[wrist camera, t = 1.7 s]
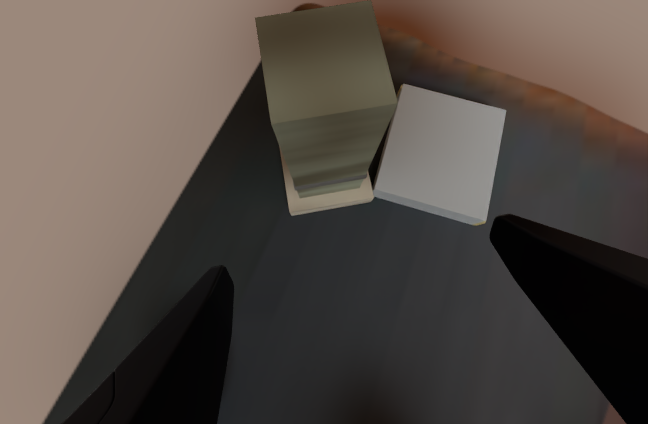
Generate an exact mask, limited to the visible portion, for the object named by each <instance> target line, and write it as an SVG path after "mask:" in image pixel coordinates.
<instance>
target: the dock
mask: <svg viewBox="0 0 648 424" xmlns="http://www.w3.org/2000/svg"><path fill="white" fill-rule="evenodd" d="M397 101H398V104H397V107H396V109H395V111H394V113H393V115H392V119H391V122H390V126H389V130H388V133H387V137H386V140H385V144H384V148H383V151H382V155H381V158H380V162H379V166H378V169H377V173H376V176H375V180H374V184H373V187H372V191H373V195H374V197H377V198H381V199H384V200H388V201H391V202H395V203H398V204H402V205H405V206H408V207H412V208H415V209H419V210H422V211H426V212H429V213H433V214H436V215H440V216H443V217H447V218H450V219H454V220H457V221H460V222H464V223H467V224H471V225H474V226H477V225H480V224H484V223H485V222H486V219H487V213H488V208H489V202H490V197H491V191H492V186H493V181H494V175H495V170H496V164H497V159H498V153H499V148H500V142H501V137H502V131H503V126H504V120H505V115H506V110H503V109H499V108H495V107H492V106H488V105H484V104H480V103H476V102H472V101H468V100H465V99H461V98H457V97H453V96H449V95H445V94H441V93H438V92H434V91H430V90H426V89H422V88H418V87H414V86H411V85H407V84H403V85H401V87H400V89H399V91H398V94H397Z"/></svg>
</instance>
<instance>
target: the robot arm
mask: <svg viewBox="0 0 648 424" xmlns="http://www.w3.org/2000/svg"><path fill="white" fill-rule="evenodd" d="M490 241H491V243H492V245H493V246H494V248H495V249H496V251H497V253H498V254H499V256H500V257H501V259H502V260H503V262H504V264H505V265H506V267H507V268H508V270H509V272H510V273H511V275H512V276H513V278H514V279H515V281H516V282H517V283H518V285H519V286H520V287H521V289H522V290H523V291H524V293H525V294H526V295H527V296H528V298H529V299H530V300H531V302H532V303H533V304H534V306H535V307H536V308H537V309H538V311H539V312H540V313H541V315H542V316H543V317H544V318H545V320H546V321H547V322H548V324H549V325H550V326H551V327H552V329H553V330H554V331H555V333H556V334H557V335H558V336H559V338H560V339H561V340H562V342H563V343H564V344H565V345H566V347H567V348H568V349H569V351H570V352H571V353H572V354H573V356H574V357H575V358H576V360H577V361H578V362H579V363H580V365H581V366H582V367H583V369H584V370H585V371H586V372H587V374H588V375H589V376H590V378H591V379H592V380H593V381H594V383H595V384H596V385H597V387H598V388H599V389H600V390H601V392H602V393H603V394H604V396H605V397H606V398H607V399H608V401H609V402H610V403H611V405H612V406H613V407H614V408H615V410H616V411H617V412H618V413H619V415H620V416H621V417H622V419H623V420H624V421H625V423H626V424H648V259H647V258H644V257H641V256H638V255H635V254H632V253H629V252H625V251H622V250H619V249H616V248H613V247H610V246H607V245H604V244H601V243H598V242H595V241H592V240H589V239H586V238H583V237H580V236H577V235H574V234H570V233H567V232H564V231H561V230H558V229H555V228H552V227H549V226H546V225H543V224H540V223H537V222H534V221H531V220H528V219H525V218H522V217H519V216H516V215H512V214H504V215H498V216H496V217H495V218H494V221H493V225H492V228H491V231H490ZM233 301H234V284H233V281H232V279H231V277H230V275H229V273H228V271H227V269H226V267H225V266H223V265H221V266H215V267H211V268H210V269H209V270H208V271H207V272H206V273H205V274H204V275H203V276H202V277H201V278H200V279H199V280H198V281H197V283H196V284H195V285H194V286H193V287H192V288H191V289H190V290H189V291H188V292H187V293H186V294H185V295H184V296H183V297H182V298H181V299H180V301H179V302H178V303H177V304H176V305H175V306H174V307H173V308H172V309H171V310H170V311H169V312H168V313H167V314H166V315H165V316H164V318H163V319H162V320H161V321H160V322H159V323H158V324H157V325H156V326H155V327H154V328H153V329H152V330H151V331H150V332H149V333H148V334H147V336H146V337H145V338H144V339H143V340H142V341H141V342H140V343H139V344H138V345H137V346H136V347H135V348H134V349H133V350H132V351H131V353H130V354H129V355H128V356H127V357H126V358H125V359H124V360H123V361H122V362H121V363H120V364H119V365H118V366H117V367H116V368H115V372H112V373H111V374H110V375H109V376H108V377H107V378H106V379H105V380H104V381H103V382H102V383H101V384H100V385H99V386H98V387H97V388H96V389H95V390H94V391H93V392H92V394H91V395H90V396H89V397H88V398H87V399H86V400H85V401H84V402H83V403H82V404H81V405H80V406H79V407H78V408H77V409H76V410H75V411H74V412H73V413H72V414H71V415H70V416H69V417H68V418H67V419H66V420H65V421H64V422H63V423H62V424H217V420H218V414H219V408H220V402H221V396H222V390H223V384H224V378H225V372H226V366H227V360H228V354H229V348H230V342H231V335H232V320H233Z"/></svg>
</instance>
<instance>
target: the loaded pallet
mask: <svg viewBox="0 0 648 424" xmlns="http://www.w3.org/2000/svg"><path fill="white" fill-rule="evenodd" d="M255 20H256V27H257V34H258V40H259V47H260V53H261V60H262V67H263V73H264V80H265V86H266V93H267V100H268V106H269V113H270V119H271V125H272V127H273V130H274V133H275V135H276V138H277V140H278V143H279V147H280V154H281V160H282V166H283V173H284V179H285V186H286V192H287V199H288V205H289V212H290V214H291V215H292V216H293V215H299V214H305V213H310V212H316V211H322V210H328V209H333V208H339V207H345V206H350V205H356V204H362V203H367V202H371V201H372V200H373V198H374V195H373V191H372V186H371V182H370V177H369V173H368V168H369V166H370V164H371V162H372V160H373V157H374V155H375V153H376V151H377V149H378V146H379V144H380V142H381V140H382V138H383V135H384V133H385V131H386V129H387V127H388V124H389V122H390V120H391V118H392V115H393V113H394V111H395V109H396V107H397V104H398V101H397V97H396V94H395V90H394V86H393V82H392V78H391V75H390V71H389V67H388V63H387V59H386V56H385V52H384V48H383V44H382V40H381V36H380V33H379V29H378V25H377V21H376V17H375V14H374V10H373V6H372V2H371V0H370V1H362V2H356V3H349V4H343V5H336V6H329V7H323V8H316V9H310V10H303V11H296V12H290V13H283V14H277V15H271V16H264V17H257V18H255Z"/></svg>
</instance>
